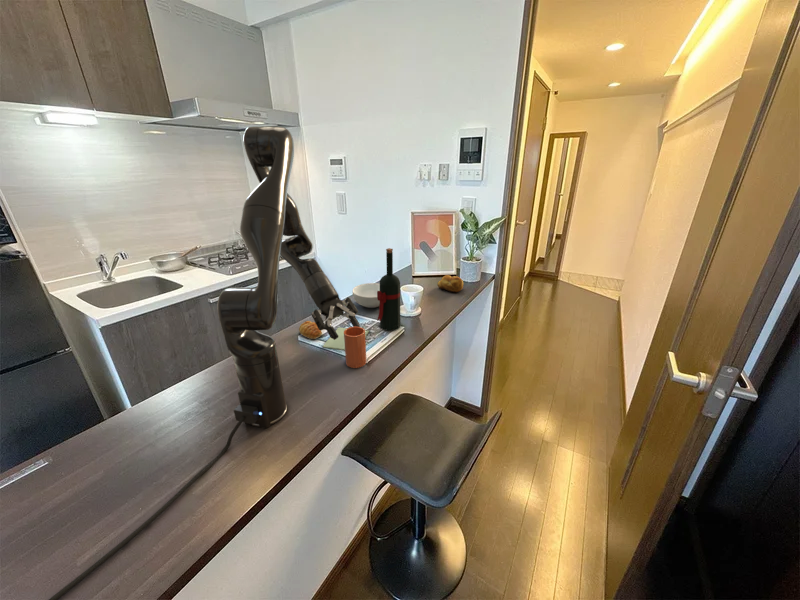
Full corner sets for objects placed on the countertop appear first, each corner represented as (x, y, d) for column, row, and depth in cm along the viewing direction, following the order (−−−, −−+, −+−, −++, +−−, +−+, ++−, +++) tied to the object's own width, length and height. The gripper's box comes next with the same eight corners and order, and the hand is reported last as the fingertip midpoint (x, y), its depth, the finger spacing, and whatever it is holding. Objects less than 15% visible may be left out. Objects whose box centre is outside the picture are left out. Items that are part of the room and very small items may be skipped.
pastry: (327, 335, 117) (326, 326, 115) (310, 342, 113) (309, 332, 111) (313, 326, 123) (312, 317, 122) (297, 333, 119) (295, 323, 117)
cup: (362, 369, 98) (360, 337, 94) (343, 366, 99) (340, 335, 95) (368, 358, 104) (367, 327, 99) (350, 355, 105) (348, 325, 101)
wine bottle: (371, 328, 122) (368, 250, 110) (389, 319, 129) (388, 245, 117) (386, 335, 117) (385, 254, 105) (404, 325, 124) (405, 248, 113)
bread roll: (434, 289, 159) (434, 274, 156) (442, 283, 167) (443, 269, 163) (458, 295, 153) (459, 279, 149) (466, 288, 160) (467, 273, 157)
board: (356, 351, 107) (356, 350, 107) (322, 347, 110) (322, 346, 110) (369, 331, 120) (369, 330, 120) (338, 328, 122) (338, 327, 122)
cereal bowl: (377, 315, 132) (377, 299, 129) (345, 307, 140) (344, 292, 137) (398, 301, 146) (398, 286, 143) (368, 294, 153) (367, 280, 150)
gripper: (305, 290, 95) (333, 337, 92) (343, 277, 105) (369, 320, 102) (297, 301, 100) (324, 346, 98) (334, 289, 110) (359, 329, 107)
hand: (347, 333), depth 100 cm, fingers open, 8 cm apart
